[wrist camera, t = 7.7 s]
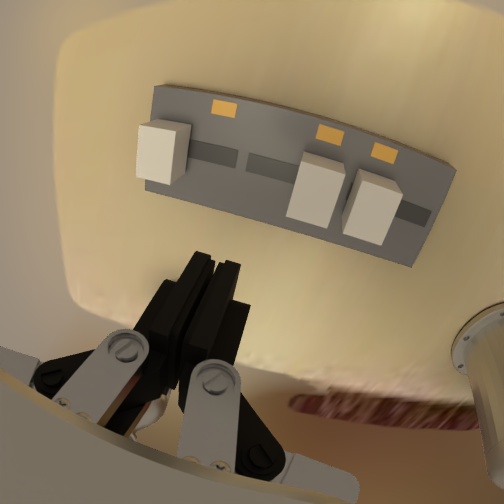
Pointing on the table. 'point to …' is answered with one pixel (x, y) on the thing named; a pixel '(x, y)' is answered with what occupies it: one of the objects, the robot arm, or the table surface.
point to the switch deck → (294, 166)
